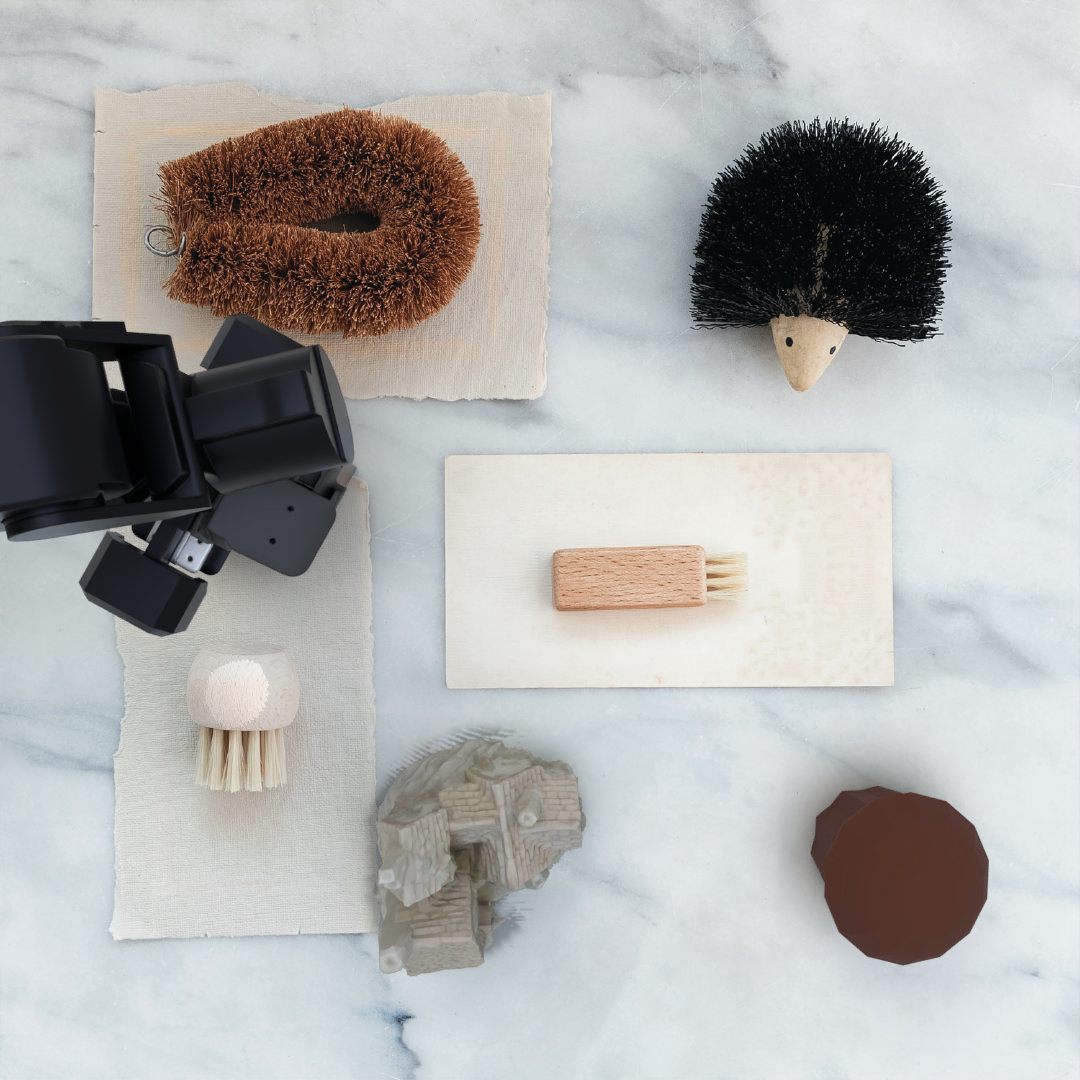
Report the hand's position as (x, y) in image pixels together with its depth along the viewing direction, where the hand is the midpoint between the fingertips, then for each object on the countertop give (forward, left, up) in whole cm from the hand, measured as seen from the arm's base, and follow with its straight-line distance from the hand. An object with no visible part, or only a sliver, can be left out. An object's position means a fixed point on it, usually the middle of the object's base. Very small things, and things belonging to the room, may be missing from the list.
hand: (252, 486), depth 58 cm
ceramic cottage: (+26, -16, -6) cm, 31 cm away
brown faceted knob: (+52, -2, -6) cm, 52 cm away
